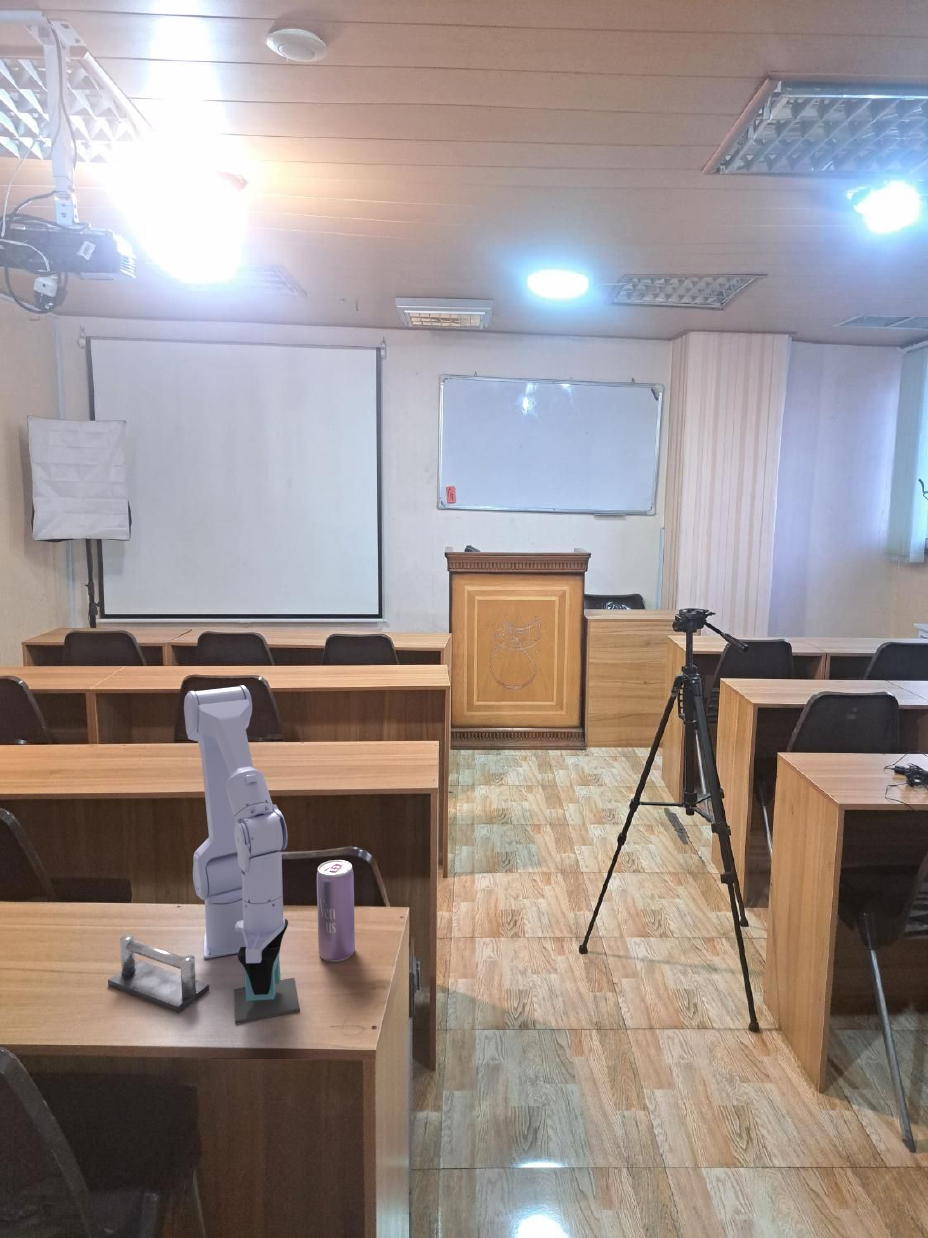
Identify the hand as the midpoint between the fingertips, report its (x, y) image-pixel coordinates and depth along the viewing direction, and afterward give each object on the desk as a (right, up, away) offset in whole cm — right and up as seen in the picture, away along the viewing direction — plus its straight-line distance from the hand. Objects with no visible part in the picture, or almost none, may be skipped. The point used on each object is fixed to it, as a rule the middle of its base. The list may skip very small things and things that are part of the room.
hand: (265, 982), depth 110 cm
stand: (-17, -3, +4) cm, 18 cm away
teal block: (0, -1, 0) cm, 1 cm away
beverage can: (+8, -2, +13) cm, 16 cm away
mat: (0, -3, 0) cm, 3 cm away
